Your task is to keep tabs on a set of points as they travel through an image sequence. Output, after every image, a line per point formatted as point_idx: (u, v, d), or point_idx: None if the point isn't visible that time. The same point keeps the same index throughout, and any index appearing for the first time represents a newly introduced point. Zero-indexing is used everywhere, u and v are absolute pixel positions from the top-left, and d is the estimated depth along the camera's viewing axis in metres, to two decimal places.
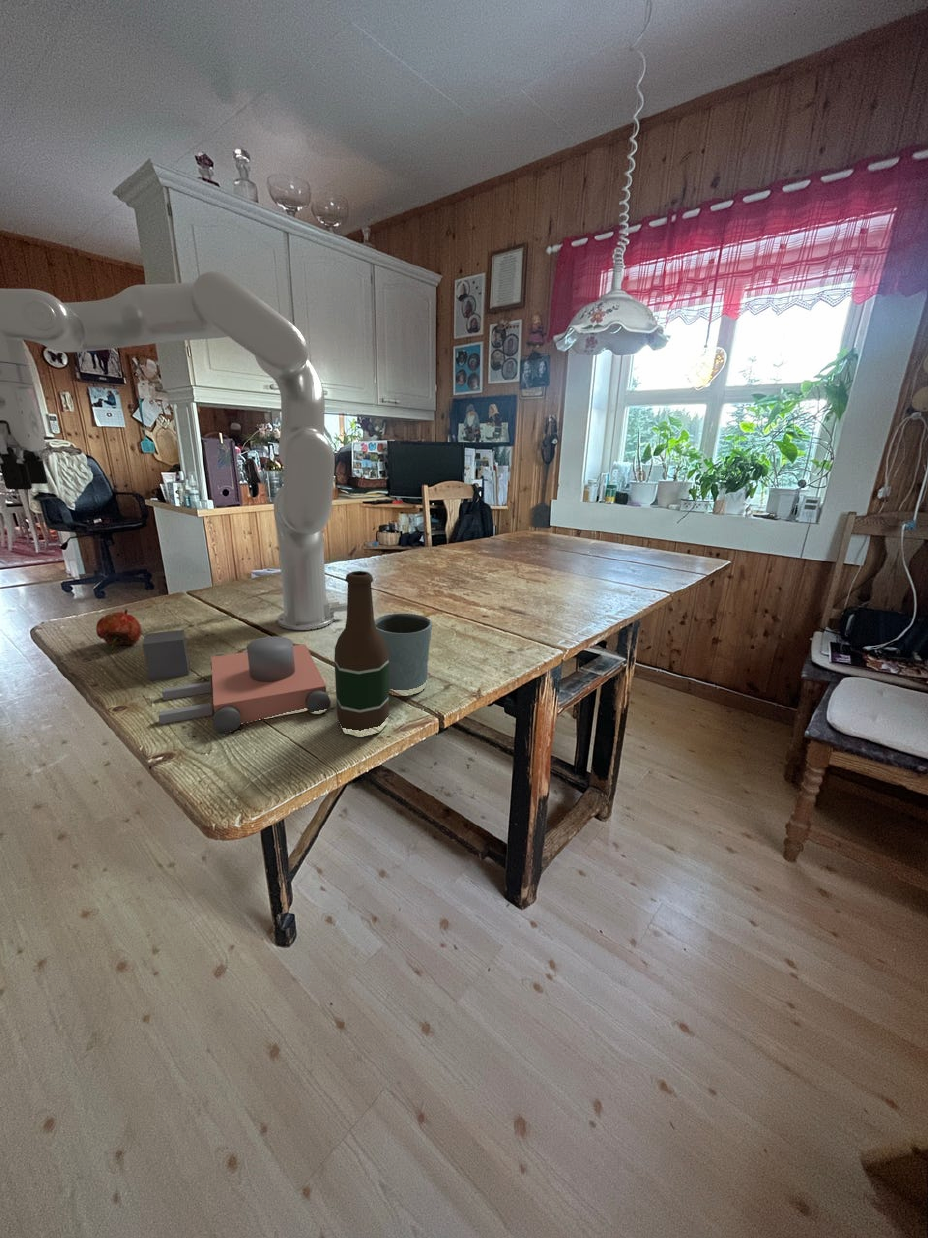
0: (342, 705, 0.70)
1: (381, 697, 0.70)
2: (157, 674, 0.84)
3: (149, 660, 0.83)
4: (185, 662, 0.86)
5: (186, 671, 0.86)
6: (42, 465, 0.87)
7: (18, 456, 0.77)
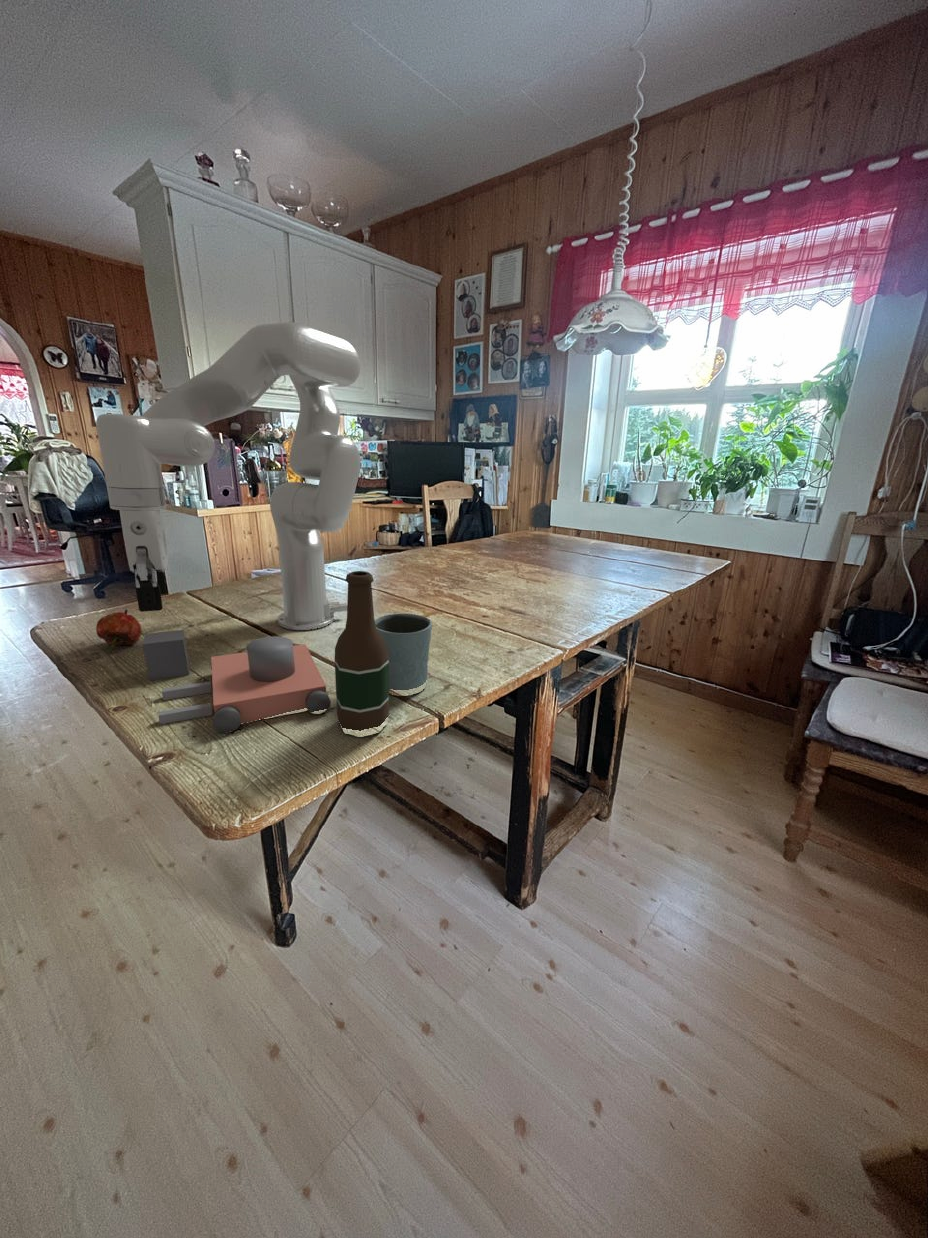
0: (342, 705, 0.70)
1: (381, 697, 0.70)
2: (157, 674, 0.84)
3: (149, 660, 0.83)
4: (185, 662, 0.86)
5: (186, 671, 0.86)
6: (163, 576, 0.86)
7: (154, 580, 0.76)
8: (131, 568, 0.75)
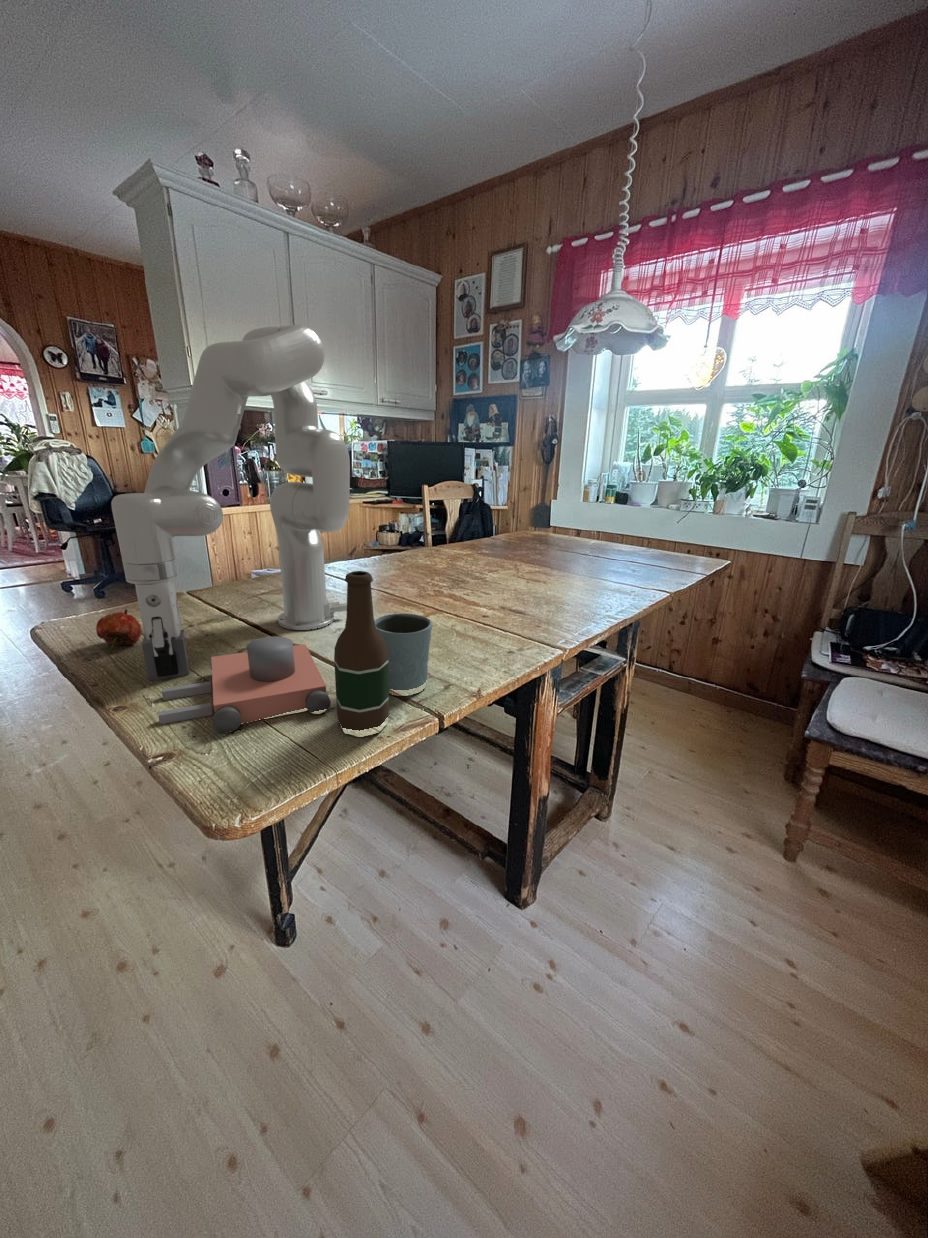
0: (342, 705, 0.70)
1: (381, 697, 0.70)
2: None
3: (149, 660, 0.83)
4: (185, 662, 0.86)
5: (186, 671, 0.86)
6: None
7: (171, 650, 0.83)
8: (147, 637, 0.80)
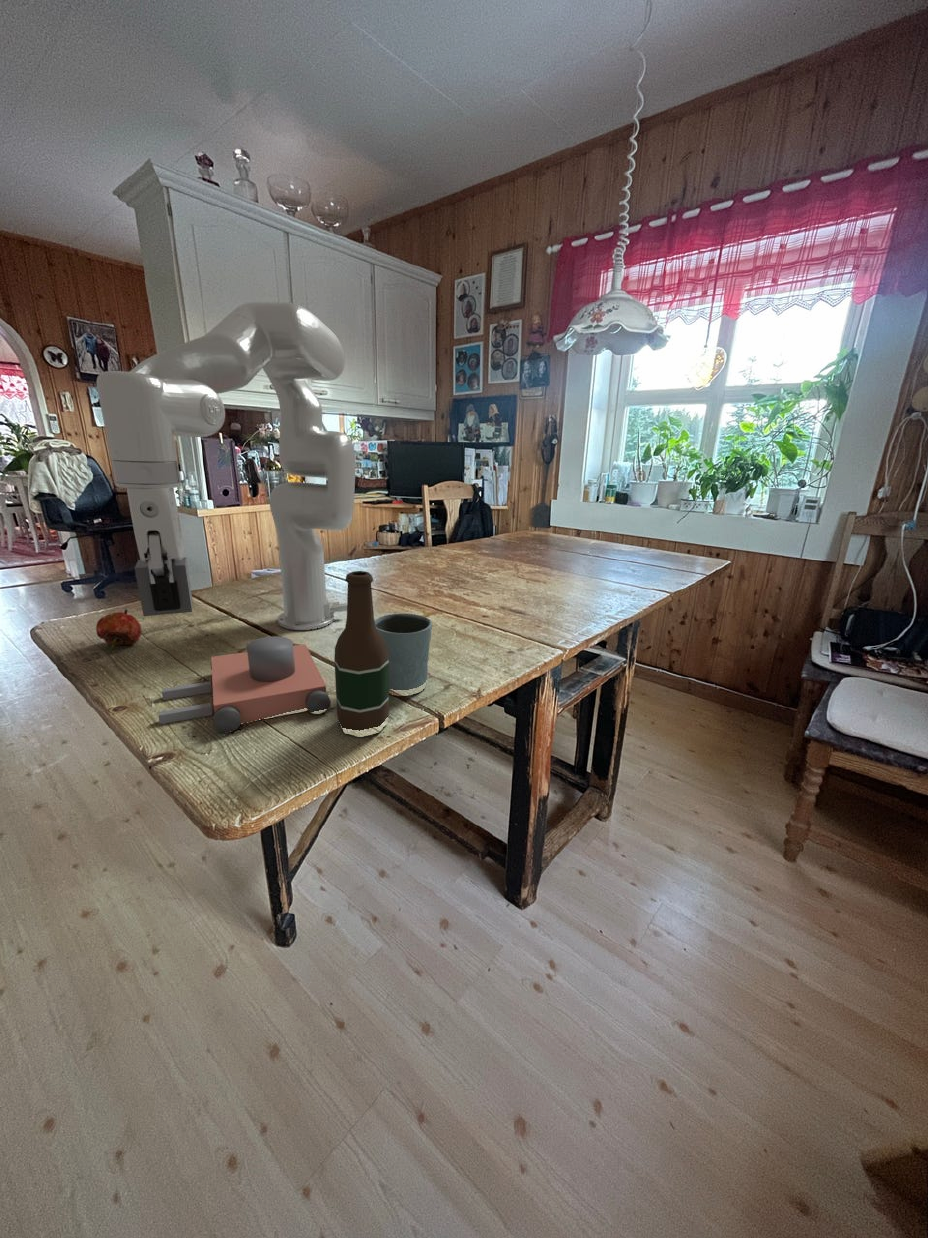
0: (342, 705, 0.70)
1: (381, 697, 0.70)
2: (153, 608, 0.68)
3: (143, 589, 0.67)
4: (187, 594, 0.70)
5: (189, 606, 0.70)
6: None
7: (171, 576, 0.67)
8: (142, 557, 0.64)
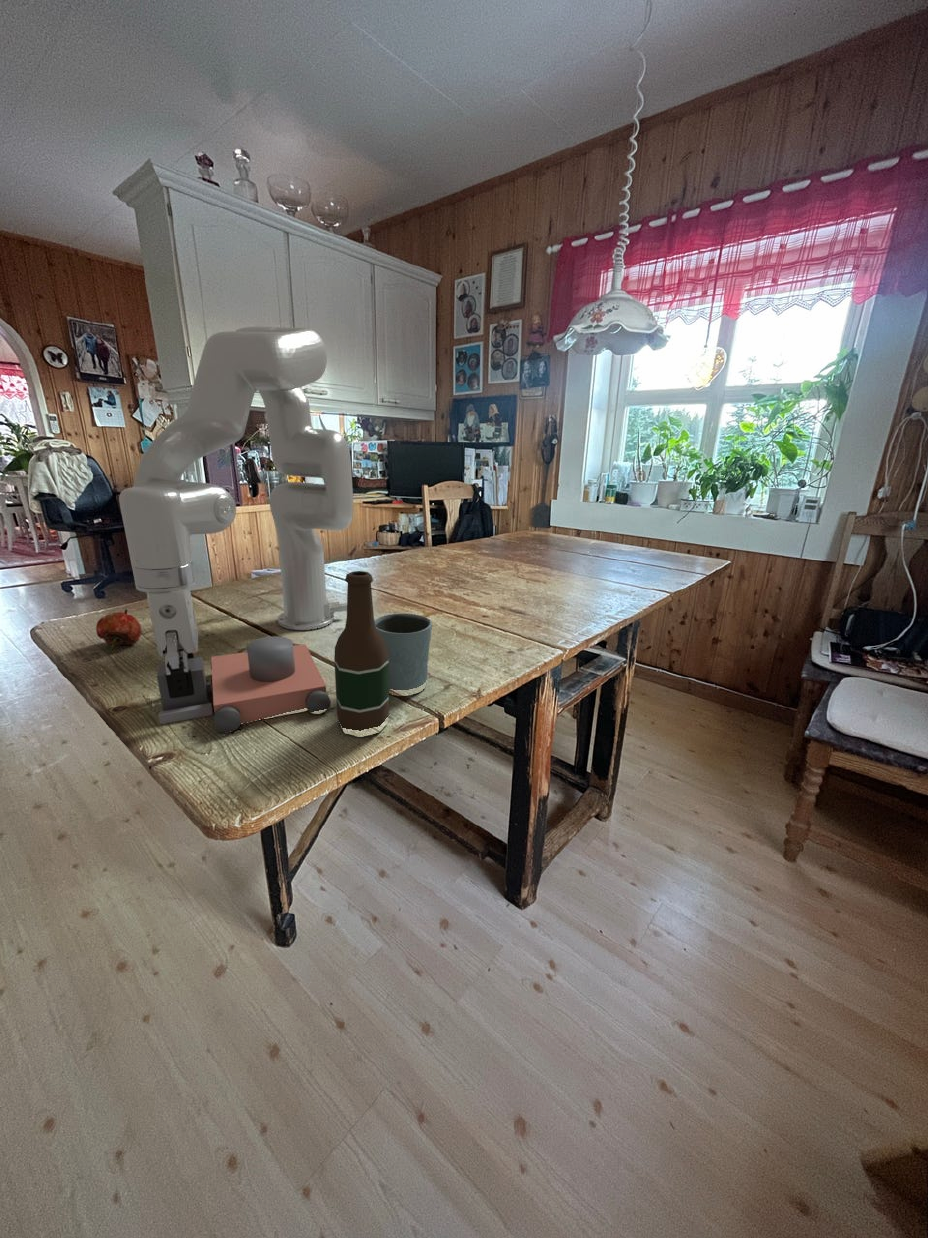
0: (342, 705, 0.70)
1: (381, 697, 0.70)
2: None
3: (164, 694, 0.73)
4: (204, 695, 0.75)
5: None
6: None
7: (186, 665, 0.70)
8: (160, 654, 0.69)
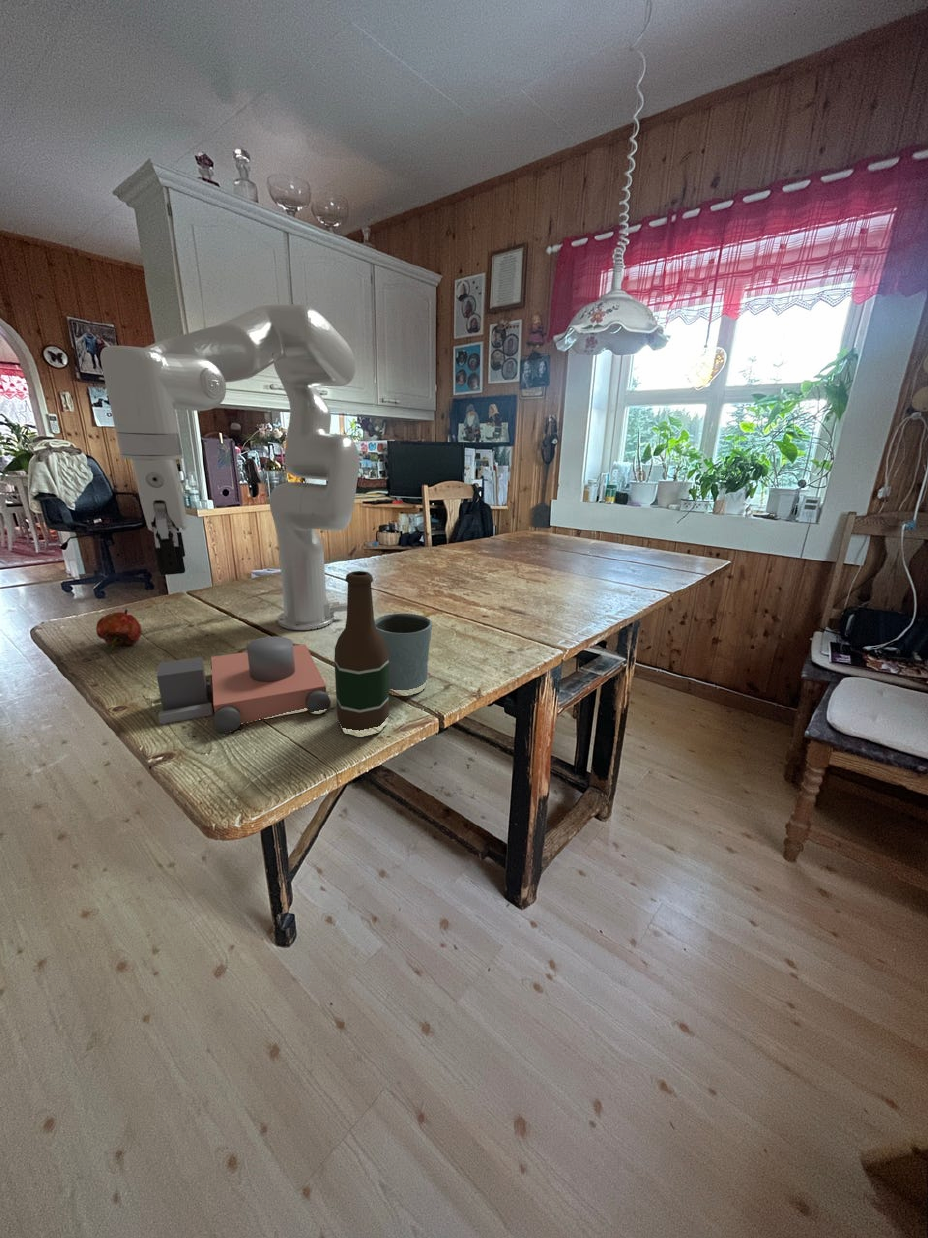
0: (342, 705, 0.70)
1: (381, 697, 0.70)
2: None
3: (164, 694, 0.73)
4: (204, 695, 0.75)
5: None
6: (181, 537, 0.78)
7: (175, 539, 0.68)
8: (149, 526, 0.67)
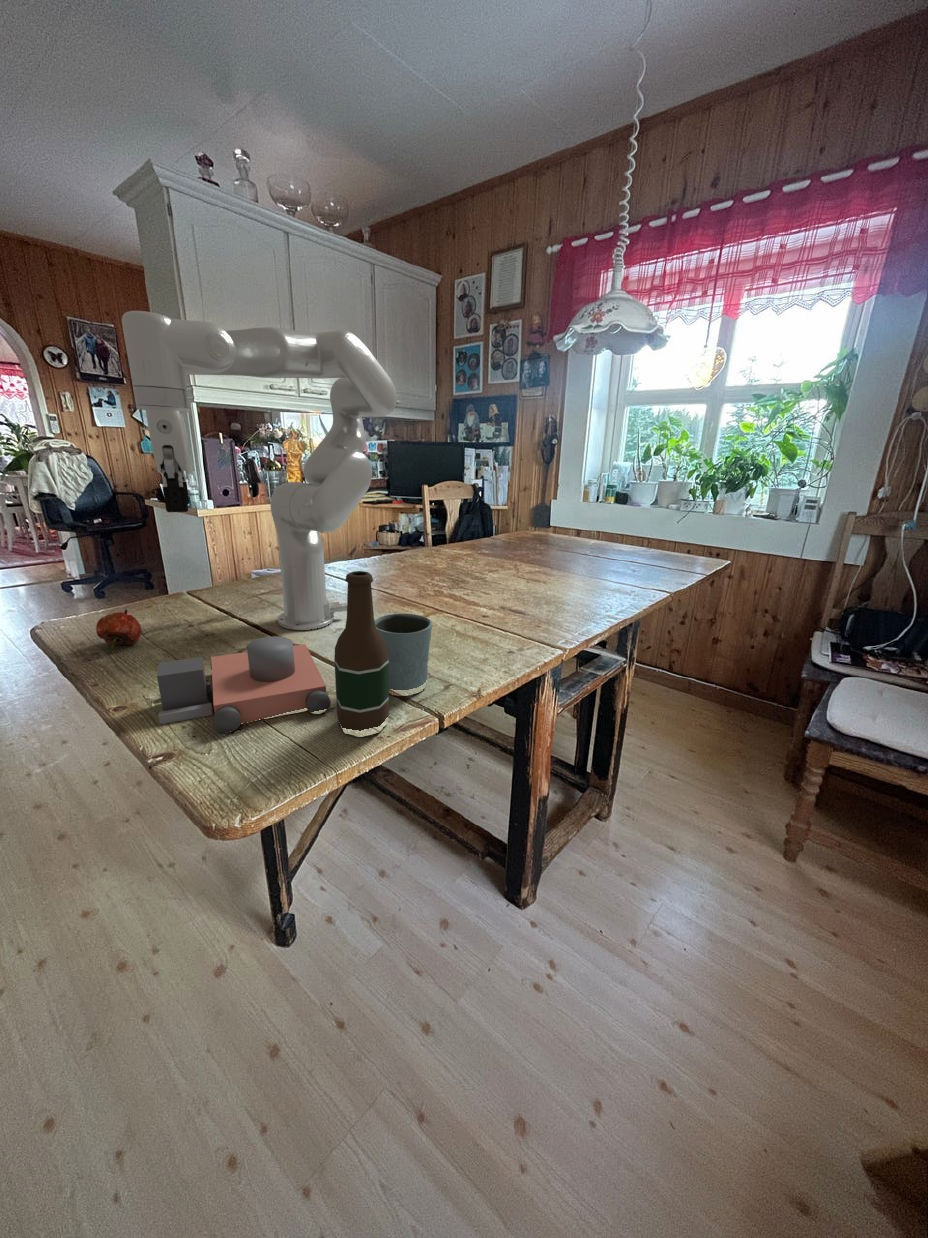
0: (342, 705, 0.70)
1: (381, 697, 0.70)
2: None
3: (164, 694, 0.73)
4: (205, 695, 0.75)
5: None
6: (186, 486, 0.88)
7: (180, 480, 0.79)
8: (158, 467, 0.78)
